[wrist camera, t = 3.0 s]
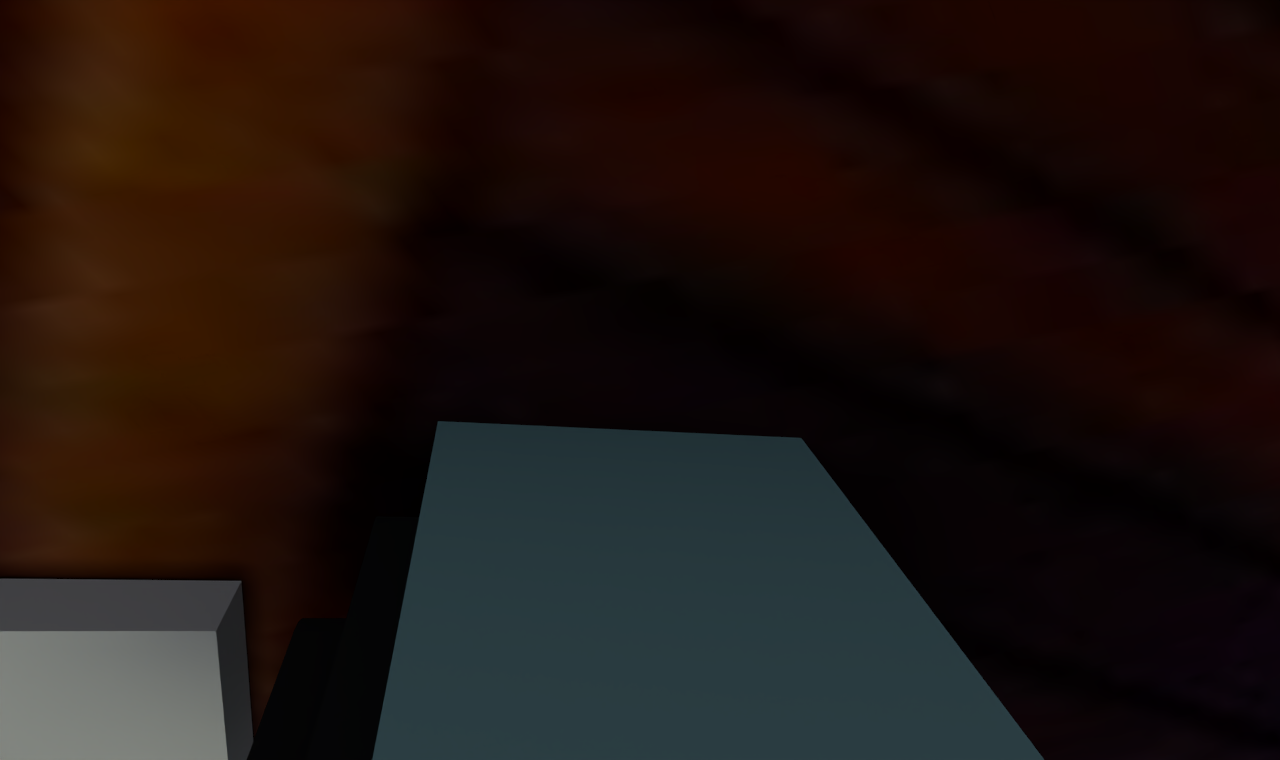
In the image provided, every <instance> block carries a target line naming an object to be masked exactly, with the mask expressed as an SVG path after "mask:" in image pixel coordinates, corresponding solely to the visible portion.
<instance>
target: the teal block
mask: <svg viewBox="0 0 1280 760" xmlns="http://www.w3.org/2000/svg"><path fill="white" fill-rule="evenodd" d="M372 760H1044V759H1043V757H1042V756H1041V755H1040V753H1039V752H1038V751H1037V749H1036V748H1035V747H1034V745H1033V744H1032V743H1031V741H1030V740H1029V739H1028V737H1027V736H1026V735H1025V734H1024V732H1023V731H1022V730H1021V728H1020V727H1019V726H1018V724H1017V723H1016V722H1015V720H1014V719H1013V718H1012V716H1011V715H1010V714H1009V712H1008V711H1007V710H1006V708H1005V707H1004V706H1003V704H1002V703H1001V702H1000V700H999V699H998V698H997V696H996V695H995V694H994V692H993V691H992V690H991V688H990V687H989V686H988V685H987V683H986V682H985V681H984V679H983V678H982V677H981V675H980V674H979V673H978V671H977V670H976V669H975V667H974V666H973V665H972V663H971V662H970V661H969V659H968V658H967V657H966V655H965V654H964V653H963V651H962V650H961V649H960V647H959V646H958V645H957V643H956V642H955V641H954V640H953V638H952V637H951V636H950V634H949V633H948V632H947V630H946V629H945V628H944V626H943V625H942V624H941V622H940V621H939V620H938V618H937V617H936V616H935V614H934V613H933V612H932V610H931V609H930V608H929V606H928V605H927V604H926V602H925V601H924V600H923V598H922V597H921V596H920V594H919V593H918V592H917V591H916V589H915V588H914V587H913V585H912V584H911V583H910V581H909V580H908V579H907V577H906V576H905V575H904V573H903V572H902V571H901V569H900V568H899V567H898V565H897V564H896V563H895V561H894V560H893V559H892V557H891V556H890V555H889V553H888V552H887V551H886V549H885V548H884V547H883V545H882V544H881V543H880V542H879V540H878V539H877V538H876V536H875V535H874V534H873V532H872V531H871V530H870V528H869V527H868V526H867V524H866V523H865V522H864V520H863V519H862V518H861V516H860V515H859V514H858V512H857V511H856V510H855V508H854V507H853V506H852V504H851V503H850V502H849V500H848V499H847V498H846V496H845V495H844V494H843V493H842V491H841V490H840V489H839V487H838V486H837V485H836V483H835V482H834V481H833V479H832V478H831V477H830V475H829V474H828V473H827V471H826V470H825V469H824V467H823V466H822V465H821V463H820V462H819V461H818V459H817V458H816V457H815V455H814V454H813V453H812V451H811V450H810V449H809V448H808V446H807V445H806V444H805V442H804V441H803V440H802V438H790V437H768V436H747V435H725V434H704V433H682V432H661V431H639V430H618V429H596V428H575V427H553V426H532V425H510V424H488V423H467V422H445V421H438V424H437V429H436V434H435V439H434V444H433V450H432V455H431V460H430V465H429V470H428V475H427V480H426V486H425V491H424V496H423V501H422V506H421V511H420V516H419V522H418V527H417V532H416V537H415V542H414V547H413V553H412V558H411V563H410V568H409V573H408V578H407V583H406V589H405V594H404V599H403V604H402V609H401V614H400V619H399V625H398V630H397V635H396V640H395V645H394V650H393V655H392V661H391V666H390V671H389V676H388V681H387V686H386V691H385V697H384V702H383V707H382V712H381V717H380V722H379V727H378V733H377V738H376V743H375V748H374V753H373V758H372Z"/></svg>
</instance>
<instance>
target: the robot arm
mask: <svg viewBox="0 0 1280 760" xmlns="http://www.w3.org/2000/svg"><path fill="white" fill-rule="evenodd" d="M418 522H419V517H382V516H377V517H376V518H375V521H374V524H373V528H372V531H371V535H370V538H369V542H368V545H367V549H366V552H365V555H364V559H363V562H362V566H361V569H360V573H359V576H358V580H357V583H356V587H355V590H354V594H353V597H352V601H351V604H350V608H349V611H348V615H347V618H302V619H301V620H300V621H299V622H298V624H297V626H296V628H295V630H294V633H293V636H292V638H291V641H290V644H289V647H288V649H287V652H286V655H285V657H284V660H283V663H282V665H281V668H280V671H279V674H278V676H277V679H276V682H275V684H274V687H273V690H272V692H271V695H270V698H269V701H268V703H267V706H266V709H265V711H264V714H263V717H262V719H261V722H260V725H259V728H258V730H257V733H256V736H255V738H254V741H253V744H252V746H251V749H250V752H249V755H248V757H247V760H372V758H373V753H374V748H375V743H376V738H377V733H378V727H379V722H380V717H381V712H382V707H383V702H384V697H385V691H386V686H387V681H388V676H389V671H390V666H391V661H392V655H393V650H394V645H395V640H396V635H397V630H398V625H399V619H400V614H401V609H402V604H403V599H404V594H405V589H406V583H407V578H408V573H409V568H410V563H411V558H412V553H413V547H414V542H415V537H416V532H417V527H418Z"/></svg>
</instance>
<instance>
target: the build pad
mask: <svg viewBox="0 0 1280 760" xmlns="http://www.w3.org/2000/svg"><path fill="white" fill-rule="evenodd" d="M252 744H253V730H252V717H251V703H250V690H249V676H248V663H247V649H246V636H245V622H244V609H243V596H242V582H241V581H206V580H100V579H0V760H247V757H248V755H249V752H250V749H251V746H252Z"/></svg>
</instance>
